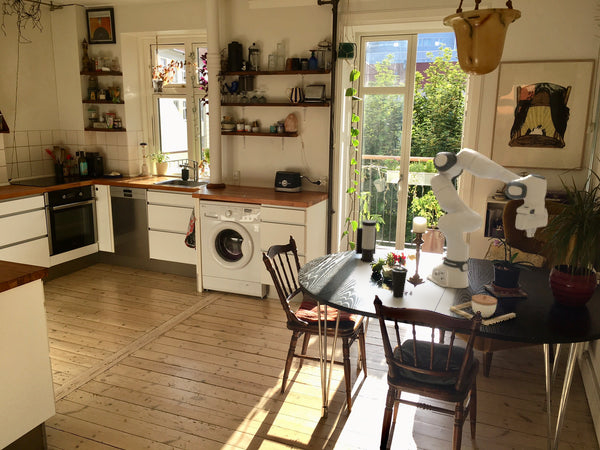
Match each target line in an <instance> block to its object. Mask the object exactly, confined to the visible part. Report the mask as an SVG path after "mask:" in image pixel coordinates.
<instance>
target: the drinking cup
mask: <svg viewBox="0 0 600 450" xmlns="http://www.w3.org/2000/svg"><path fill="white" fill-rule="evenodd" d="M401 265H402V256H400V257H399V265H398V266H394V267H392V268H391V273H392V296H393V297H394V298H399V299H401V298H403V297H404V293H405V286H406V281H407V273H408V269H407V268H405V267H403V266H401Z"/></svg>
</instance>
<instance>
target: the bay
mask: <svg viewBox="0 0 600 450" xmlns="http://www.w3.org/2000/svg"><path fill="white" fill-rule="evenodd" d="M469 307H472V300H471V301H467V302H463V303H460V304H459V303H458V304H456V305H452V306H449V311H451V312H453V313H455V314H458V315H460V316H462V317H465V318H467V319H468V320H471V319H470V318H472V317H473V316H474V315H473V314H471V313H468V312H466V311H464V310H462V309H464V308H469ZM516 315H517V314H516V313H514V312H511V313H507V314H504V315H500V316H497V317H494V318H491V319H487V320H485V319H482V324H484V325H487V326H489V324H491V325H494V324H496V322H497V323H501V322H502V321H503V320H504V321H507V320H509V318H510V319H513V317H514V318H516ZM500 321H501V322H500ZM504 321H503V322H504ZM493 323H494V324H493ZM482 324H481V325H482ZM484 325H483V326H484Z"/></svg>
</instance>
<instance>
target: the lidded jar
mask: <svg viewBox="0 0 600 450" xmlns="http://www.w3.org/2000/svg"><path fill="white" fill-rule="evenodd" d="M471 301H472V306H471V309H472V311H473V312H474V313H475V314H476V312H477V311H480V312H481V315H482V317H481V318H484V319H485V318H486V317H487V318H489V317H491V316H492V315H493V314H494V313H495V311H496V309H497V304H498V299H497V298H496V297H493V296H492V295H487V294H473V295H471Z"/></svg>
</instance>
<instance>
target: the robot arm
mask: <svg viewBox="0 0 600 450" xmlns="http://www.w3.org/2000/svg"><path fill="white" fill-rule="evenodd" d="M432 162H433V167H434V169H435V170H436V171H437V173H436V174H434V175H433V176H432V177H431V178H430V181H429V183H430V187H431V190H432V193H433V195H434V197H435V200H436V202H437V203H438V205H439V207H440V209H441V210H442V211H444V212H446V213H445V214H443V215H441V216H439V218H438V220H437V228H438V229H439V231H440V232H441V233H442V234H443V236H444V237H445V241H446V252H445V253H446V254H445V255H446V256H445V257H442V258H441V261H442V260H443V261H442V263H440V264H438V265H436V266H435V267H434V268H433V270H432V272H431V274H429V275H427V276H426V279H427V280H429V281H431V282H433V283H435V284H436V285H438V286H440V287H442V288H451V289H452V288H453V289H465V288H468V287H469V286H470V284H469V278H468V276H469V275H468V268H469V261H470V260H469V254H470V253H469V251H470V245H469V243H468V241H466V240H465V239H464V234H466V233H474V232H476V231H478V230H480V229H481V227H483V222H484V221H483V217H482V215H481V214H480V212H477V211H474V210H473V209H471V207H469V205H467V204H466V203H465V202H464V201H463V200H462V198H461V197H460V195H459V193H458V191H457V190H456V188H455V186H454V184H453V182H454V181H455V180H457V179H458V178H459V177H460V176H461V175H462V174H463V172H464V171H466V172H468V173H469V174H471V175H473V176H475V177H477V178H480V179H491V180H492V179H494V180H499V181H502V182H504V183H505V184H506V186H505V194H506V196H507V197H508V198H509V199H511V200H524V203H523V204H522V205H521V206H519V207H517V208H516V213H517V214H516V216H515V217H516V218H515V228H516V229H517V230H521V231H524V230H525V231H526V237H528V238H532V237H534V236H535V233H536V231H537V229H538V228H542V227H547V225H548V218H549V214H548V209H547V207H545V204H546V202H545V201H546V200H545V198H546V195H547V187H548V183H547V178H546V177H545V176H543V175H542V174H539V173H538V174H537V173H529V175H527V176H525V177H524V176H521V175H519V174H517V173H515V172H513V171H512V170H510V169H508V168H506V167H504V166H502V165H501V164H499V163H497V162H495V161H493V160H491V158H489V157H487V156H486V155H484V154H482V153H480V152H479V151H476V150H474V149H471V148H463V149H461V150H460V151H459V152H457V154H456V153H455V152H454V151H453V152H452V151H450V152H448V151H442V152H441V151H440V152H438V153H437V154H436V155H435V156H434V158H433V161H432Z"/></svg>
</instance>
